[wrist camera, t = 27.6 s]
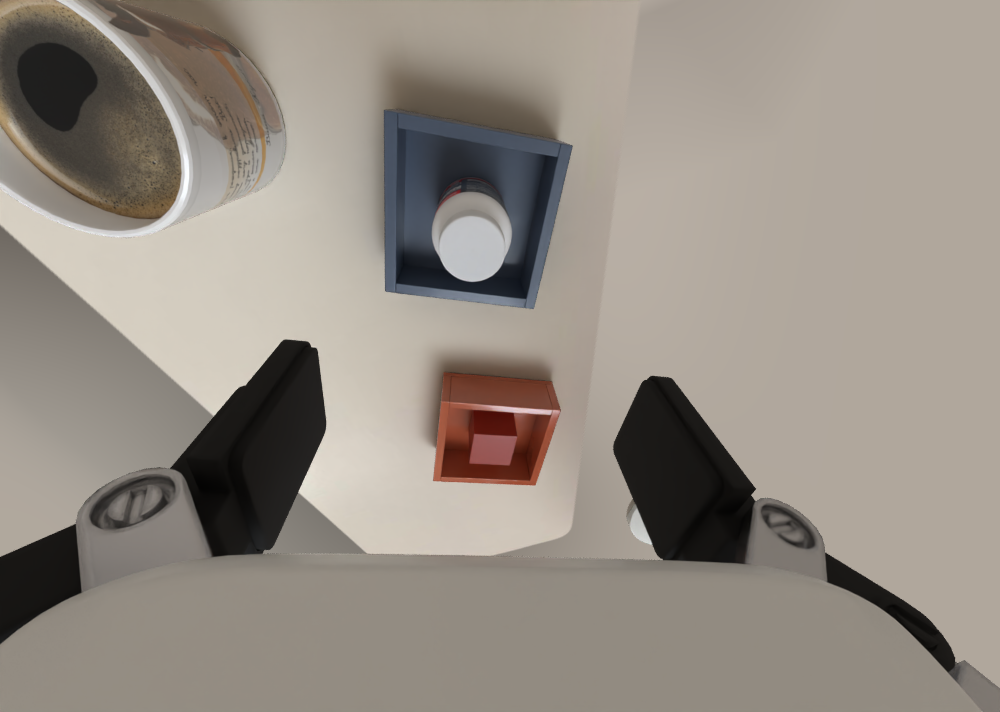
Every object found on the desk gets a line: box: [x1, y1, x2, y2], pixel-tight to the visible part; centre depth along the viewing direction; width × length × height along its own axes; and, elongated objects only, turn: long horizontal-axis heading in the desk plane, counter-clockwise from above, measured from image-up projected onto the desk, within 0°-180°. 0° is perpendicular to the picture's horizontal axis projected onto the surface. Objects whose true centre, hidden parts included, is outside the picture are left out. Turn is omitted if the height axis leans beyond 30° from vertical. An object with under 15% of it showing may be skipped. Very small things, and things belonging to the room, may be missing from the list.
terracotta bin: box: [433, 372, 561, 485], centre depth 40 cm, size 12×12×5 cm
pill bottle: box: [432, 177, 512, 282], centre depth 25 cm, size 5×5×9 cm
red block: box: [469, 410, 517, 465], centre depth 40 cm, size 4×4×4 cm
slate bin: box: [384, 109, 573, 309], centre depth 28 cm, size 12×12×5 cm
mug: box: [0, 0, 286, 238], centre depth 20 cm, size 10×12×11 cm
